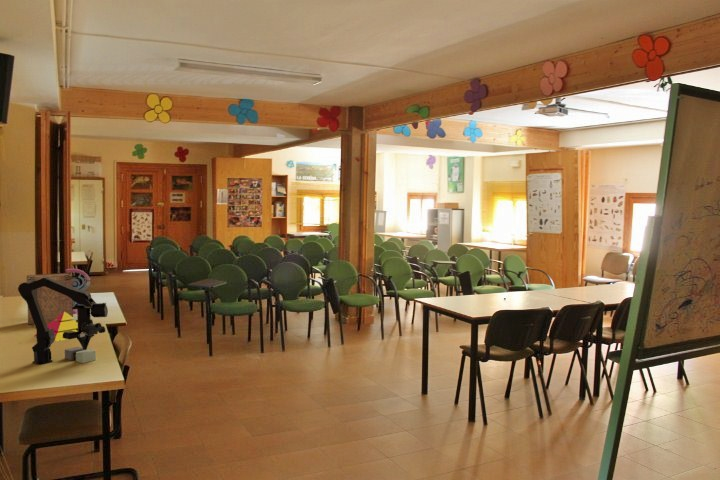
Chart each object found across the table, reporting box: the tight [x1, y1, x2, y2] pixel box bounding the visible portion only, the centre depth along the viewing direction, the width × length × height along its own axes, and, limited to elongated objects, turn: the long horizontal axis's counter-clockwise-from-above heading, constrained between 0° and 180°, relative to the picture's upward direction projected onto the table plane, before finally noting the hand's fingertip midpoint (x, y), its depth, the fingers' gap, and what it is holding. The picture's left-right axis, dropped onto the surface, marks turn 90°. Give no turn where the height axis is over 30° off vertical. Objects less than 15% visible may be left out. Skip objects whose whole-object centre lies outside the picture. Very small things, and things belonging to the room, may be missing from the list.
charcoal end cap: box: [64, 346, 84, 361], centre depth 289 cm, size 6×7×4 cm
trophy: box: [65, 268, 91, 315], centre depth 407 cm, size 20×17×30 cm
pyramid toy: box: [33, 311, 83, 342], centre depth 338 cm, size 25×25×14 cm
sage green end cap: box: [75, 348, 97, 364], centre depth 284 cm, size 6×7×4 cm
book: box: [26, 272, 74, 326], centre depth 374 cm, size 25×9×30 cm, turn 119°
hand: (85, 349), depth 284 cm, fingers closed
